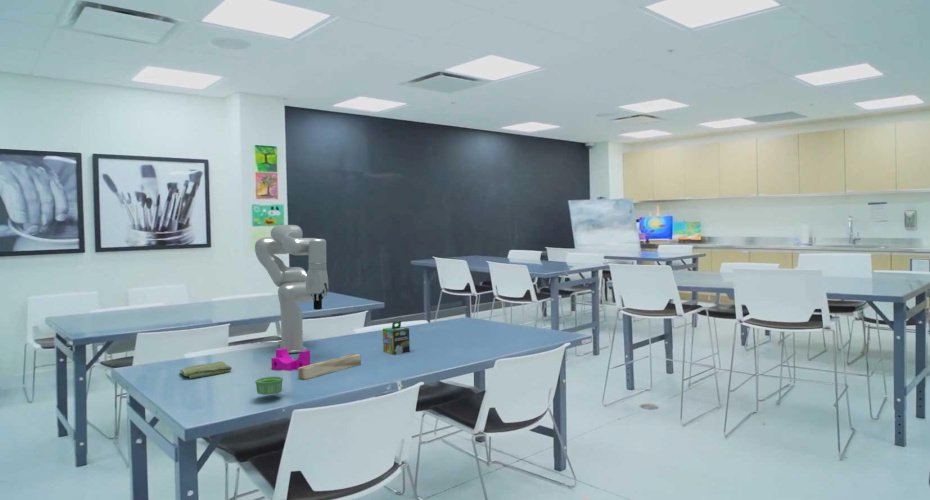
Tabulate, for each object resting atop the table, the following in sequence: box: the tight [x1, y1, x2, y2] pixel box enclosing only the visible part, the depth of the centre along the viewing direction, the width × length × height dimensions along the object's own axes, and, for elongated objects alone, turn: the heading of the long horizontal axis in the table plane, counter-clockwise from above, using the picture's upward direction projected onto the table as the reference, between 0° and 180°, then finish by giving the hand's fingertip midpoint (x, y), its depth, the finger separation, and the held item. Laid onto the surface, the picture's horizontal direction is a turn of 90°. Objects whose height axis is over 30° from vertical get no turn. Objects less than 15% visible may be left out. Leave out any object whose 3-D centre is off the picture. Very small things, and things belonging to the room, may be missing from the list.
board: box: [297, 353, 362, 380], centre depth 226 cm, size 4×30×4 cm, turn 148°
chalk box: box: [382, 320, 411, 356], centre depth 261 cm, size 9×9×15 cm
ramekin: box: [254, 375, 284, 396], centre depth 196 cm, size 9×9×4 cm
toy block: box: [270, 348, 311, 372], centre depth 233 cm, size 15×6×8 cm, turn 64°
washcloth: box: [179, 360, 232, 379], centre depth 229 cm, size 13×18×3 cm
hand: (317, 309), depth 248 cm, fingers closed
